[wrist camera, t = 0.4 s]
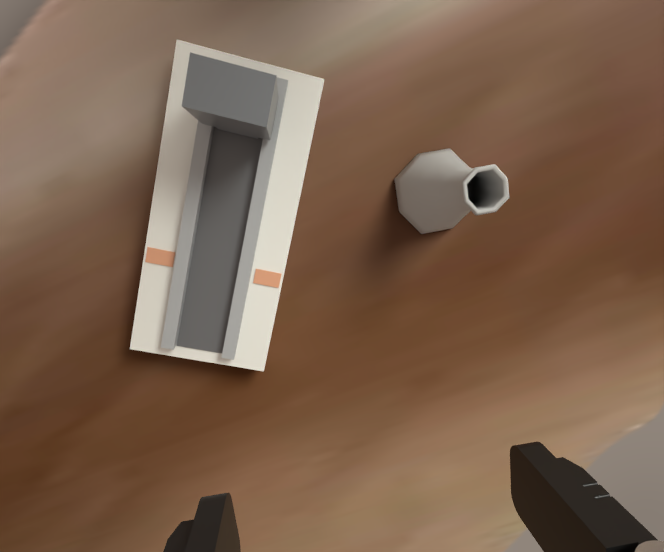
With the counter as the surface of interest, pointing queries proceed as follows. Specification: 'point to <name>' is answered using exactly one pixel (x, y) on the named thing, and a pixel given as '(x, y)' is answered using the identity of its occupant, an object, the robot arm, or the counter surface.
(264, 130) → the fader tab
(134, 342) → the fader console
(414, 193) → the flask
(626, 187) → the counter surface
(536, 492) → the robot arm
